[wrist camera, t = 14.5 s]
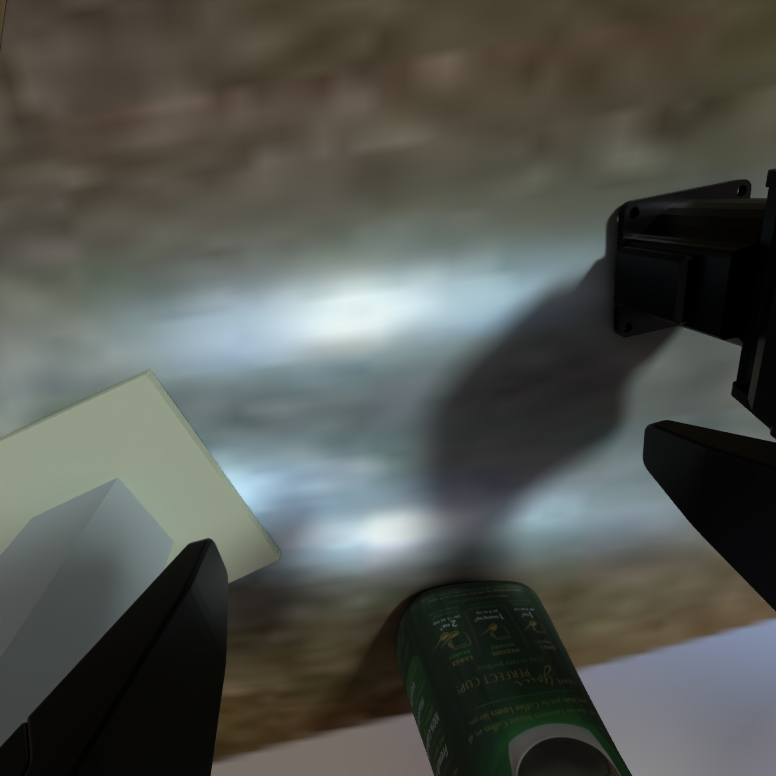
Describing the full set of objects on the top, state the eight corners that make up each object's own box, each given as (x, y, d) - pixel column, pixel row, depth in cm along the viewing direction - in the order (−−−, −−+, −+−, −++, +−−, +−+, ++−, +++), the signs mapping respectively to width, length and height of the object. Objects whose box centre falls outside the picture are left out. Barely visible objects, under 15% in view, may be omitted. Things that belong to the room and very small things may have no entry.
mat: (149, 369, 20) (145, 374, 19) (280, 551, 25) (279, 559, 24) (-99, 484, 20) (-111, 492, 19) (82, 643, 25) (78, 653, 24)
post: (118, 476, 21) (-119, 840, 9) (173, 541, 23) (38, 912, 11) (32, 517, 21) (-318, 935, 9) (94, 578, 23) (-127, 991, 11)
